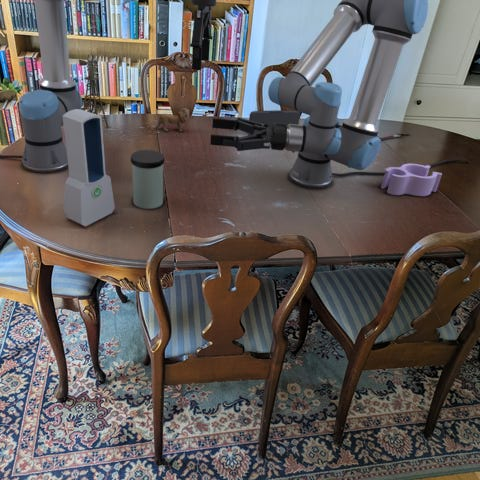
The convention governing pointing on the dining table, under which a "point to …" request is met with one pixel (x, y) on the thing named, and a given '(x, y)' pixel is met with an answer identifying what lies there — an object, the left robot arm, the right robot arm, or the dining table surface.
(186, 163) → the dining table surface
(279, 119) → the handheld gaming console
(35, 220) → the dining table surface
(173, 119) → the lion figurine
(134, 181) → the jar
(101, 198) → the electronic device
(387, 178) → the clip
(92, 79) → the miniature windmill
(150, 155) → the lid
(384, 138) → the sword
